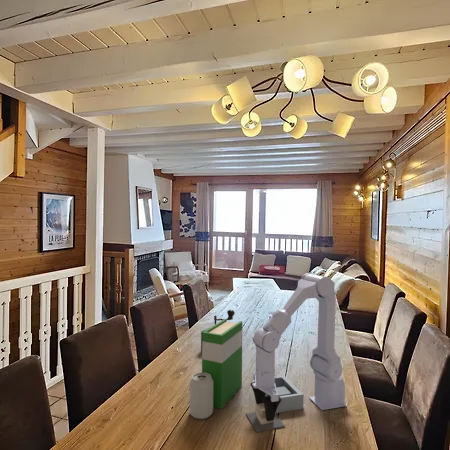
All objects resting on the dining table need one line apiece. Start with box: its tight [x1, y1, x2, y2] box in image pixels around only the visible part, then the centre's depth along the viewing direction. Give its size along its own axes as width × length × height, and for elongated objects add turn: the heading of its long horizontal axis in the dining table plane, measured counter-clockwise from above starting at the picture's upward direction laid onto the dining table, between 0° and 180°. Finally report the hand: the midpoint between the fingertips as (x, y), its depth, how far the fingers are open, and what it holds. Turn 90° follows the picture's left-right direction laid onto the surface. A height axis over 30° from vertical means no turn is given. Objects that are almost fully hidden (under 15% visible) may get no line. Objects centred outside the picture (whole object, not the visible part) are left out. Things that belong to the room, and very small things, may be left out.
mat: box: [245, 411, 286, 433], centre depth 101 cm, size 9×9×1 cm
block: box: [255, 403, 274, 424], centre depth 101 cm, size 4×4×4 cm
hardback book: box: [201, 318, 243, 410], centre depth 117 cm, size 18×7×24 cm, turn 155°
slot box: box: [265, 375, 305, 414], centre depth 114 cm, size 10×14×5 cm
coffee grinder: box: [200, 309, 235, 352], centre depth 161 cm, size 16×11×18 cm
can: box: [189, 371, 214, 420], centre depth 105 cm, size 8×8×12 cm
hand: (264, 413), depth 101 cm, fingers open, 7 cm apart
